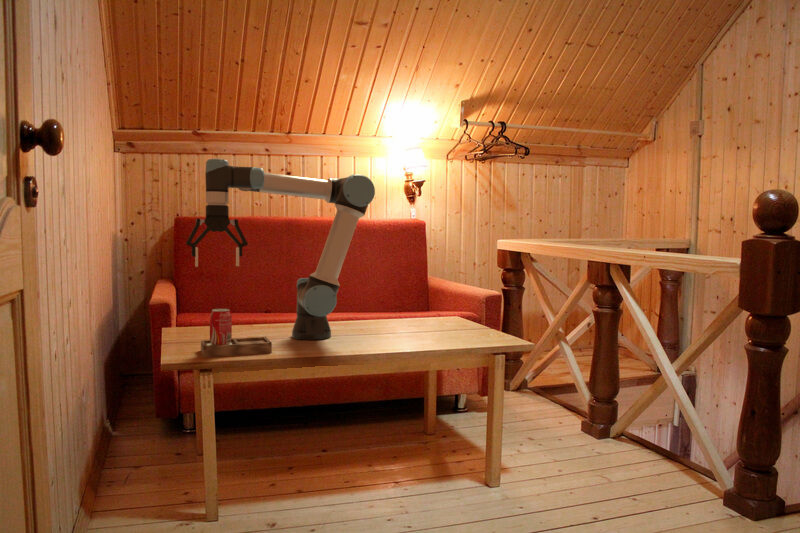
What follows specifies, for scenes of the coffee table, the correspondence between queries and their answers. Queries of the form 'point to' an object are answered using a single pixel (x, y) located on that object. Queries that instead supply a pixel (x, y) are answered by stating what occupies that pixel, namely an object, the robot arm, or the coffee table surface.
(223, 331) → the soda can
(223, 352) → the wooden tray
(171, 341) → the coffee table surface
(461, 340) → the coffee table surface
